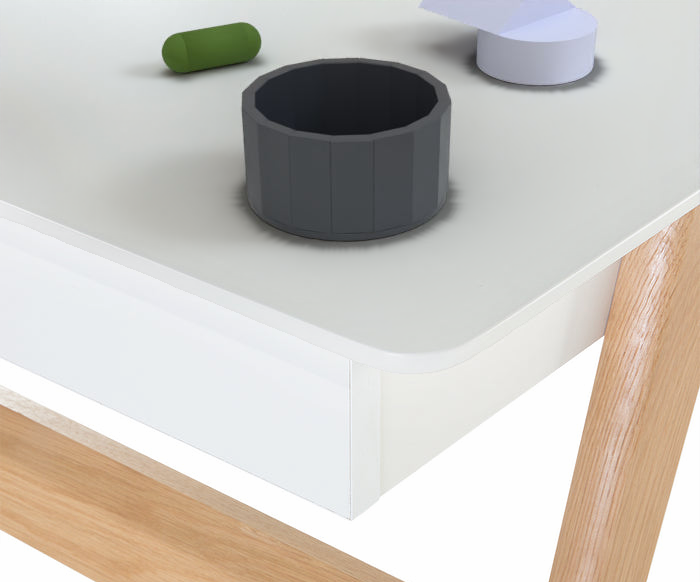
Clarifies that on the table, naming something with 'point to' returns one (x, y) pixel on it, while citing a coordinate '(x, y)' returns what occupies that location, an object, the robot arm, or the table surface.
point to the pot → (346, 147)
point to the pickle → (211, 47)
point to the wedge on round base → (527, 38)
